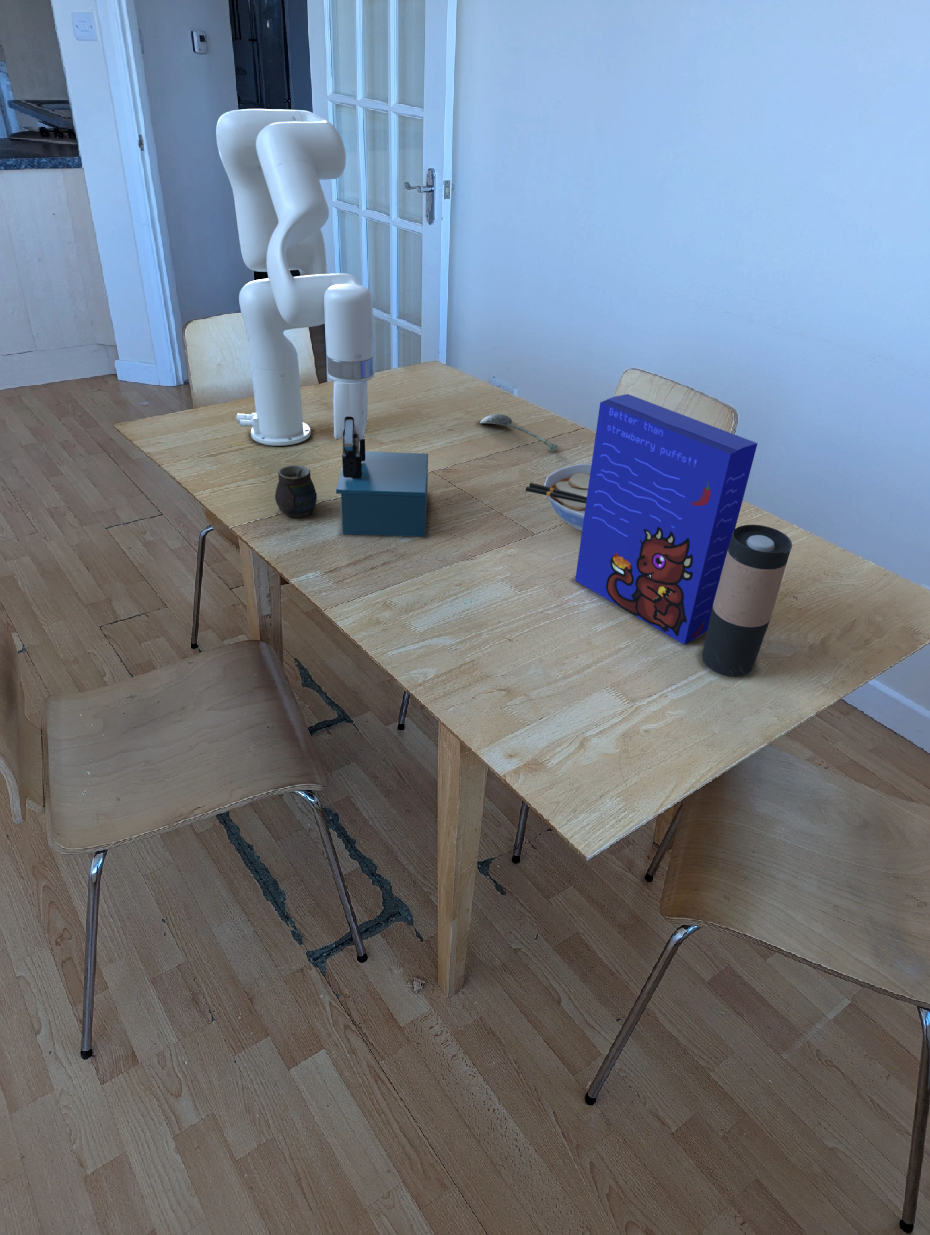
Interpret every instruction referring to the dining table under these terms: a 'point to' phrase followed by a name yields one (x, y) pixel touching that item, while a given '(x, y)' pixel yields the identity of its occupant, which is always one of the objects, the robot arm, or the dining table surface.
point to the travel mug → (745, 598)
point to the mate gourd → (295, 491)
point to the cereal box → (661, 513)
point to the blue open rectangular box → (384, 514)
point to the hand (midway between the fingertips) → (354, 467)
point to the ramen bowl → (567, 492)
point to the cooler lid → (388, 475)
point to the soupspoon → (507, 421)
